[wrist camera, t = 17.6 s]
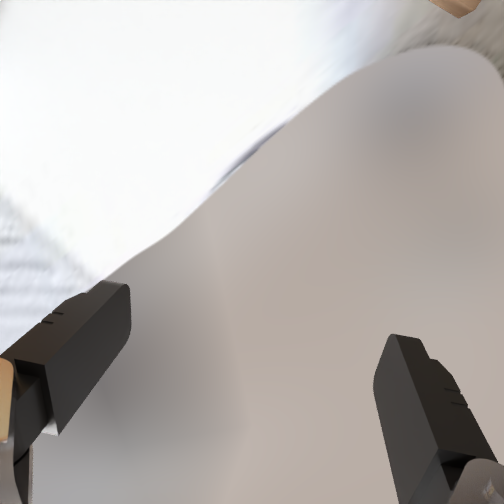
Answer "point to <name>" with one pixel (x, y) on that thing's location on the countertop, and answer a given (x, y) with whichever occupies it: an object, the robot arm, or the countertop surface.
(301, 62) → the countertop surface
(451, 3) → the walnut plinth
